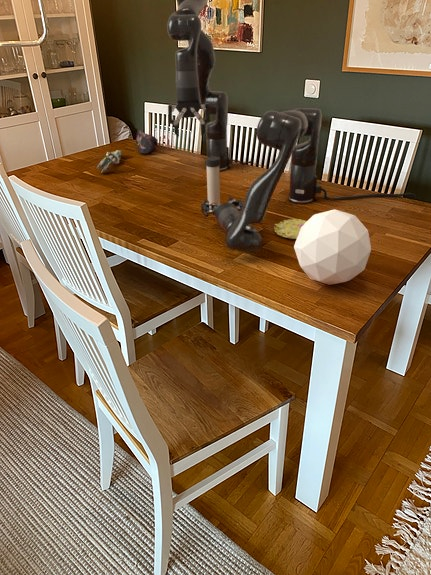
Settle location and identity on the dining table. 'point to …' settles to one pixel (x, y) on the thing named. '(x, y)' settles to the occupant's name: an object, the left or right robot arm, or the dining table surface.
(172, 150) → the dining table surface
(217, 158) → the lid
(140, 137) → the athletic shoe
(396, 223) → the dining table surface
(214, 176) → the bottle
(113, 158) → the figurine
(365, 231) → the sphere
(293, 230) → the decorative object
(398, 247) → the dining table surface
